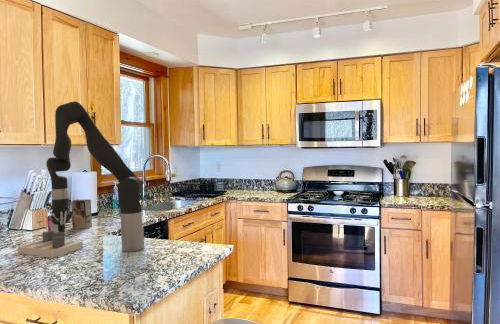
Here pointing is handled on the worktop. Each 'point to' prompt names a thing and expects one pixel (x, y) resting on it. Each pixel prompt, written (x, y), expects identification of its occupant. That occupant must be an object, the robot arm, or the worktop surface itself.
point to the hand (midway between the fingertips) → (61, 232)
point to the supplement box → (52, 226)
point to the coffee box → (81, 213)
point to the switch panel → (49, 248)
